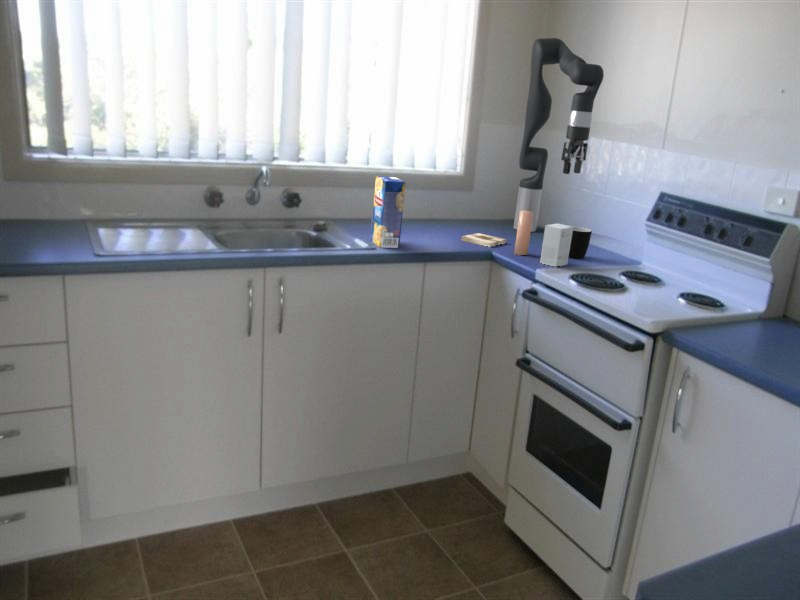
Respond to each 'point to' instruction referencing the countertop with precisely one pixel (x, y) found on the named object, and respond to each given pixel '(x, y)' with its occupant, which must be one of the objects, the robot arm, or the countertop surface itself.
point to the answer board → (483, 239)
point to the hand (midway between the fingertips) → (571, 173)
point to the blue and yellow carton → (387, 212)
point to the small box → (556, 244)
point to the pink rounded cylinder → (523, 232)
